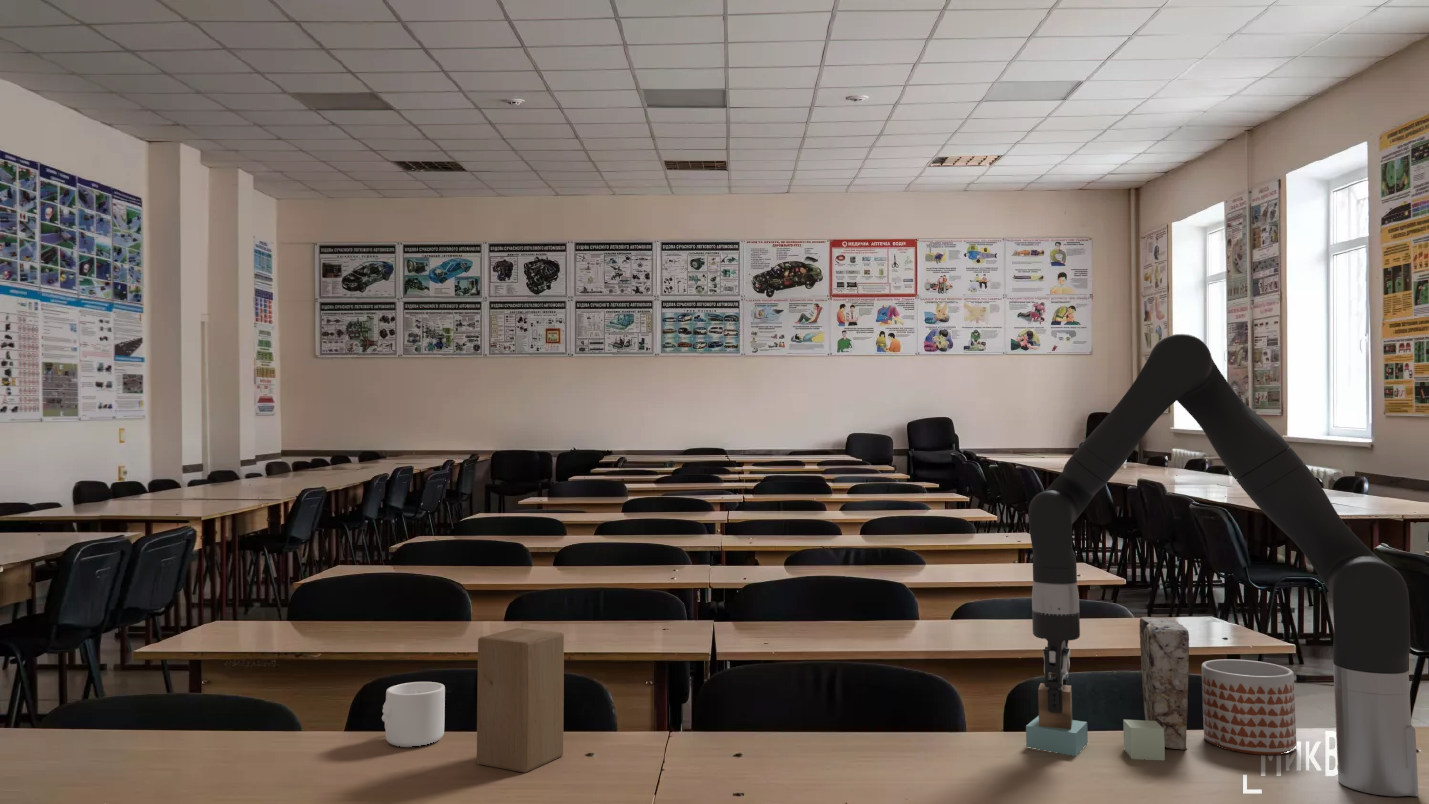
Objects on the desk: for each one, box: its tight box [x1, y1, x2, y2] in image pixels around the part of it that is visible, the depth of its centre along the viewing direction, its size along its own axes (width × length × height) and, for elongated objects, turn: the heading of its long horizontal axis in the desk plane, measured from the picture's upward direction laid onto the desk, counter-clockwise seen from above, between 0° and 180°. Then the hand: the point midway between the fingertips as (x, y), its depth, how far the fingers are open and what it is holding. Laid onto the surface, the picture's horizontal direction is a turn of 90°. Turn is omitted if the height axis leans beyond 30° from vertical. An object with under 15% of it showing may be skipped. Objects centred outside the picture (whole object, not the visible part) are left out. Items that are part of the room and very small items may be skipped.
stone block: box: [1139, 616, 1190, 751], centre depth 166 cm, size 13×7×20 cm, turn 171°
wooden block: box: [476, 627, 565, 774], centre depth 156 cm, size 10×10×20 cm
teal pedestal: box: [1025, 715, 1089, 757], centre depth 162 cm, size 8×8×4 cm
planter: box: [1201, 658, 1297, 756], centre depth 163 cm, size 14×14×13 cm
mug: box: [381, 681, 446, 748], centre depth 167 cm, size 12×10×9 cm
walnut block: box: [1037, 682, 1073, 729], centre depth 162 cm, size 5×5×6 cm
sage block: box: [1122, 719, 1166, 761], centre depth 157 cm, size 5×5×5 cm
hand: (1058, 706), depth 162 cm, fingers open, 8 cm apart
